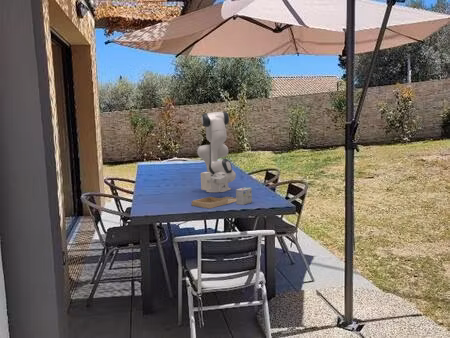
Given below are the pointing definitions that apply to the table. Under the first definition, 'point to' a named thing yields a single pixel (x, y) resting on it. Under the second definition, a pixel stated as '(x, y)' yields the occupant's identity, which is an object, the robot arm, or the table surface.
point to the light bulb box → (243, 196)
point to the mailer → (213, 202)
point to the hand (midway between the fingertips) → (205, 181)
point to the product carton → (205, 181)
